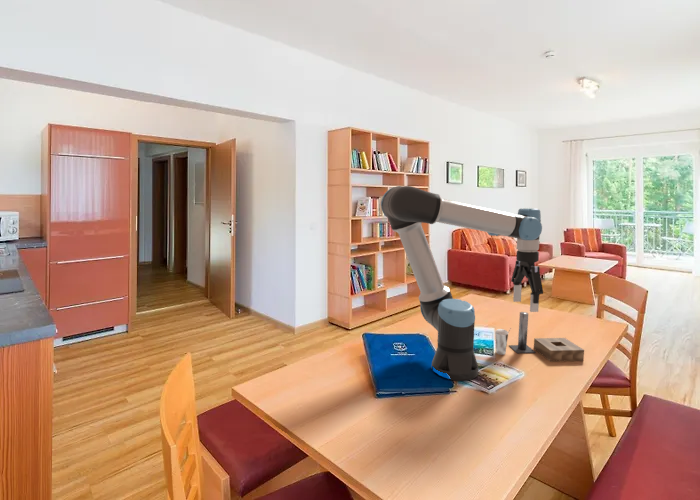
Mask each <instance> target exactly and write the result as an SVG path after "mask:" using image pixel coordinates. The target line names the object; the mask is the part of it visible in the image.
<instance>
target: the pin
mask: <svg viewBox="0 0 700 500" xmlns="http://www.w3.org/2000/svg"><path fill="white" fill-rule="evenodd" d="M518 321H519V322H518V323H519V324H518V335H517V336H518V338H517V340H518V341H517V345H518V349H520V350H526V347H527V346H528V345H527V344H528V331H529V330H528V327H529V313H528V312H526V311H520V312H519V320H518Z"/></svg>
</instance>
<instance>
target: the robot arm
mask: <svg viewBox="0 0 700 500" xmlns="http://www.w3.org/2000/svg"><path fill="white" fill-rule="evenodd" d="M380 207H381V211H382V213H383V215H384V216H385V217H386V218H387V220H388V223H389V225H390V228H391V230H392V231H393V232H396V233H397V235H398V236H399V239H400V243H401V244H402V247H403V250H404V252H405V254H406V258H407V260H408V262H409V266H410V268H411V271H412V273H413V276H414V278H415V281H416V284H417V286H418V289H419V291H420V293H419V295H418V301H419V304H420V313H421V315H422V317H423V318H424V320H425V321H426V322H427V323H428V324H430V325H431V326H432V327H433V328H434V329H435V330H436V331H437V347H436V350H435V353H434V356H433V358H432V361H431V367H432V366H433V367H434V368H435V369H436V370H438V371H440V372H443V373H447V374H448V375H449V376H450V378H451V380H450V381H456V382H457V381H458V382H460V381H461V382H463V381H464V382H465V381H470V380H473V379H475V378H477V377H478V375H479V366H478V361H477V358H476V355H475V351H474V344H475V343H474V342H475V323H476V322H475V321H476V315H475V314H476V313H475V308H474V306H473V305H472V304H471V303H470V302H469V301H466V300H462V299H459V298H453V295H452V292H451V290H450V287H449V286H448V285H445V284H444V283H443V279H442V277H441V274H440V272H439V269H438V267H437V264H436V260H435V259H434V255H433V253H432V249H431V247H430V245H429V242H428V239H427V237H426V234H425V231H424V228H423V226H422V224H429V225H434V224H436V223H440V224H445V225H450V226H455V227H461V228H464V229H465V228H466V229H470V230H475V231H479V232H480V231H481V232H484V233H487V234H488V235H489V236H496V237H499V236H503V237H509V238H514V239H516V255H515V256H516V258H515V259H516V260H515V263H514V264H515V265H514V269H513V272H512V276H511V280H510V281H511V283H512V284H513V297H512V300H513V302H515V303H516V302H517V303H518V302H520V303H521V302H522V286H523V283H522V282H523V280H524V278H526V279H527V280H528V285H529V287H530V291H531V292H530V299H529V300H530V301H529V302H530V303H529V312H530V313H538V312H539V308H540V305H539V304H540V295H541V294H542V295H543V294H544V289H543V283H542V278H541V272H540V270H541V269H540V268H541V267H540V266H538V265H537V266H535V263H537V262H538V261H539V256H540V252H539V251H540V250H539V249H540V236H541V234H542V231H543V224H542V219H541V217H542V216H541V210H540V209H539V208H532V207H531V208H530V207H529V208H528V207H527V208H526V207H525V208H519V209H518V211H517V213H516V214H514V213H511V212H507V211H501V210H496V209H493V208H488V207H483V206H479V205H473V204H469V203H465V202H464V203H463V202H460V201H455V200H450V199H446V198H443V197H442V196H441V195H440V194H438V193H433V192H430V191H426V190H424V189H420V188H419V187H414V186H410V185H404V186H401V185H398V186H394V187H391V188H390V189H388V190H387V191H386V192H385V193H384V194H383V195H382V198H381V201H380ZM538 250H539V251H538Z"/></svg>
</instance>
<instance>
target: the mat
mask: <svg viewBox="0 0 700 500" xmlns="http://www.w3.org/2000/svg"><path fill="white" fill-rule="evenodd" d="M508 347H509V348H510V349H512V350H513V351H514V352H515V353H516V354H536V352H537V351H536V350H535V349H532V348H531V347H530V346H529V345H527V347H526V350H520V349H518V344H512V345H510V344H509V345H508Z"/></svg>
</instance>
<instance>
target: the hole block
mask: <svg viewBox="0 0 700 500" xmlns="http://www.w3.org/2000/svg"><path fill="white" fill-rule="evenodd" d="M533 350H534V351H535V352H537V353H539V354H540V355H541V356H543V357H544V358H545V359H547V360H548V361H549V362H582V361H583V362H584V358H585V349H584V348H582V347H580V345H578V344H575V343H574V342H572V341H571V340H569V339H567V338H566V337H539V338H538V337H535V338H534V340H533Z"/></svg>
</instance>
